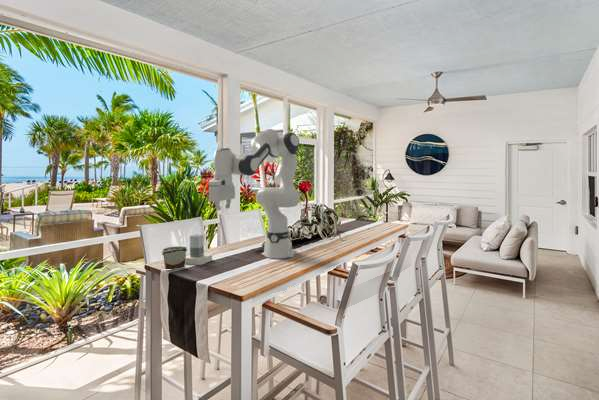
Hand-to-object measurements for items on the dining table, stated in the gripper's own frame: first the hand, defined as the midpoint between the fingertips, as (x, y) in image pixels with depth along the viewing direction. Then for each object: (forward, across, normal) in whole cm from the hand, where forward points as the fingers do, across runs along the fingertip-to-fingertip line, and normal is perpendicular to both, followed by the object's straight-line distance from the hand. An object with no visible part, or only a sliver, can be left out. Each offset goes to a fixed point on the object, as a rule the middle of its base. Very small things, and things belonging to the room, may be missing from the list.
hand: (223, 209), depth 172 cm
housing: (+26, -5, -18) cm, 32 cm away
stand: (+29, -5, -18) cm, 35 cm away
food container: (+29, +9, -23) cm, 38 cm away
